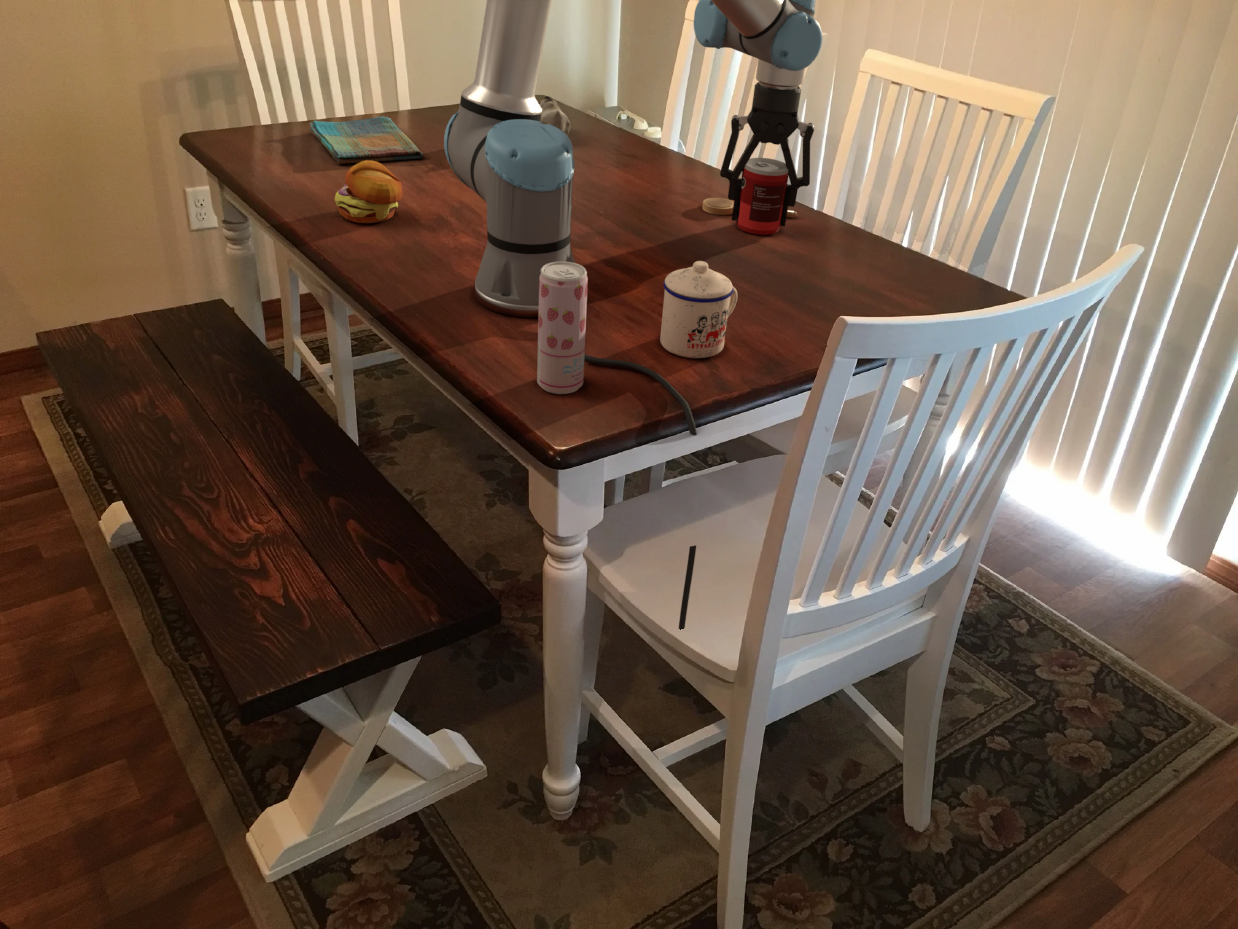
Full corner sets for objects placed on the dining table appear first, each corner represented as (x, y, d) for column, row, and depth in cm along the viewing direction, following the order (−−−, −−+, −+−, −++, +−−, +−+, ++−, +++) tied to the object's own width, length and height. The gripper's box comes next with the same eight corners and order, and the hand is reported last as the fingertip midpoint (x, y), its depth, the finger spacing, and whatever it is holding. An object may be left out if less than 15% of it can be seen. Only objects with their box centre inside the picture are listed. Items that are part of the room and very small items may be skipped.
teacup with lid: (690, 366, 128) (699, 282, 122) (644, 340, 134) (651, 258, 128) (754, 344, 135) (766, 263, 129) (708, 319, 141) (717, 240, 134)
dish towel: (391, 126, 211) (390, 114, 210) (425, 159, 194) (424, 146, 192) (309, 132, 204) (307, 119, 203) (336, 166, 187) (335, 152, 186)
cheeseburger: (363, 199, 172) (370, 145, 166) (410, 227, 170) (419, 174, 164) (321, 214, 165) (327, 158, 159) (370, 243, 162) (378, 188, 156)
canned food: (753, 216, 178) (762, 154, 172) (789, 229, 173) (799, 166, 167) (725, 224, 173) (733, 161, 167) (761, 238, 168) (771, 174, 162)
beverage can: (567, 400, 119) (571, 283, 111) (528, 386, 122) (529, 271, 113) (591, 381, 124) (597, 268, 115) (553, 368, 126) (556, 256, 117)
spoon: (796, 212, 181) (797, 205, 181) (796, 223, 176) (797, 216, 176) (703, 202, 183) (704, 195, 182) (701, 213, 178) (701, 206, 177)
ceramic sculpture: (533, 103, 200) (512, 89, 211) (533, 147, 204) (512, 131, 216) (583, 102, 203) (559, 88, 215) (581, 145, 208) (558, 130, 219)
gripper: (842, 85, 162) (817, 220, 175) (716, 72, 164) (701, 207, 176) (843, 95, 156) (818, 235, 168) (713, 82, 158) (697, 221, 170)
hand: (758, 220), depth 172 cm, fingers closed on canned food, 8 cm apart
